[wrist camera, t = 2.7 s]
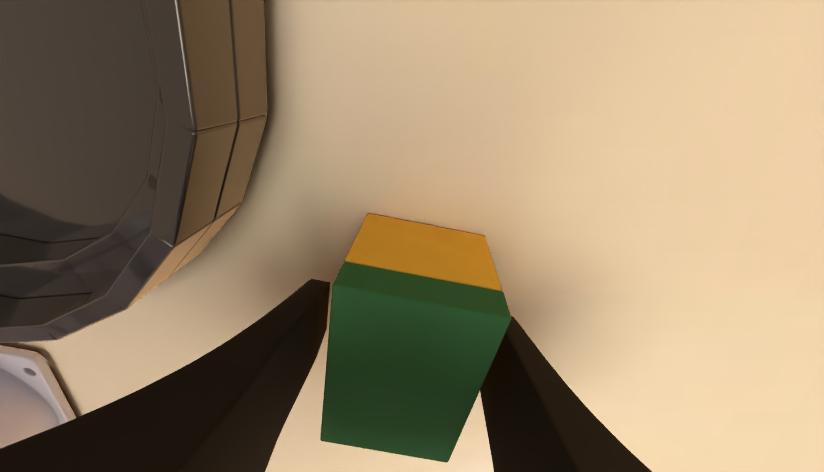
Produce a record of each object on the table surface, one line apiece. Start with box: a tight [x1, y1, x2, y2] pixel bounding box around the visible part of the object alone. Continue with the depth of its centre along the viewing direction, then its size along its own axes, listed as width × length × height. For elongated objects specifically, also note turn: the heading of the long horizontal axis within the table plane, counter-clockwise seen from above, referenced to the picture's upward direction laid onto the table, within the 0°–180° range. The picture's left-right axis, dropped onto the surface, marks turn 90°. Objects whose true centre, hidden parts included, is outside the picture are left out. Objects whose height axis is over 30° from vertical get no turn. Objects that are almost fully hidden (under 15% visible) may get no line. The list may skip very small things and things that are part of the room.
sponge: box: [321, 213, 511, 462], centre depth 10 cm, size 6×4×4 cm, turn 169°
